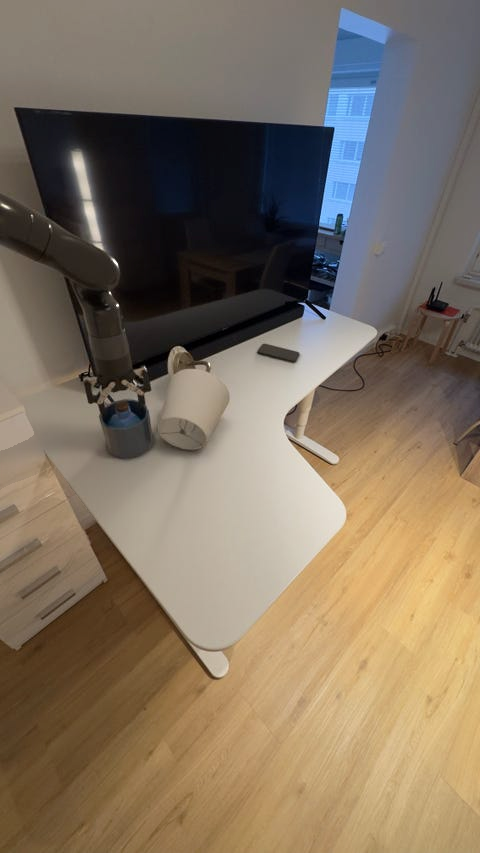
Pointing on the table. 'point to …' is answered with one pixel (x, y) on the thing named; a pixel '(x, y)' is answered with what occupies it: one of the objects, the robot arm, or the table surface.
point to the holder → (128, 432)
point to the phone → (278, 352)
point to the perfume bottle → (123, 416)
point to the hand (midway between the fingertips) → (123, 409)
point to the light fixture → (191, 402)
